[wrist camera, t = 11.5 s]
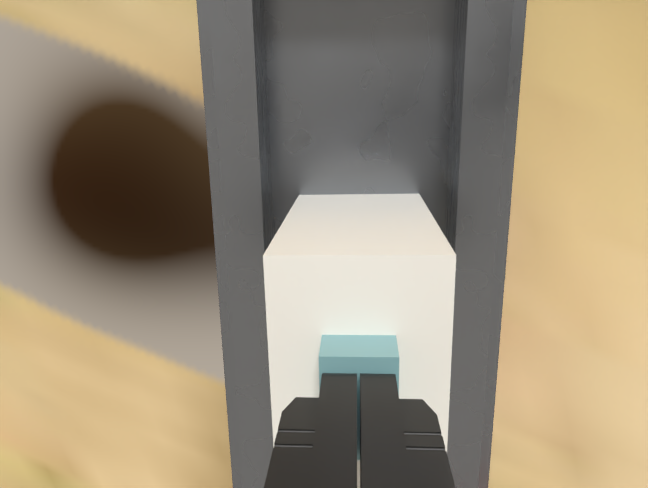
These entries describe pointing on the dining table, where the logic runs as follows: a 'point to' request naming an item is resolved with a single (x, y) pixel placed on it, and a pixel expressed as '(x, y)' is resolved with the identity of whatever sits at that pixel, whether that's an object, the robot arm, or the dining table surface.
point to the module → (360, 299)
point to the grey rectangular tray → (361, 169)
